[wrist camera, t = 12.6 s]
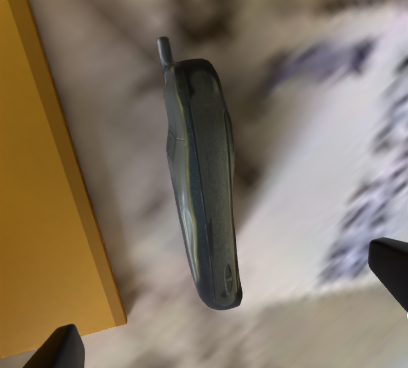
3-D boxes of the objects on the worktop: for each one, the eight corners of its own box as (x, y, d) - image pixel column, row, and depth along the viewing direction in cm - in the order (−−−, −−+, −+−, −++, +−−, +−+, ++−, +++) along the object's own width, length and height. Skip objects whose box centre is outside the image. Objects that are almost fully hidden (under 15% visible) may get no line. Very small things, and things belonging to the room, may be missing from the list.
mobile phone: (253, 310, 16) (226, 13, 11) (203, 325, 16) (147, 22, 10) (227, 260, 21) (198, 33, 15) (187, 270, 20) (143, 40, 15)
